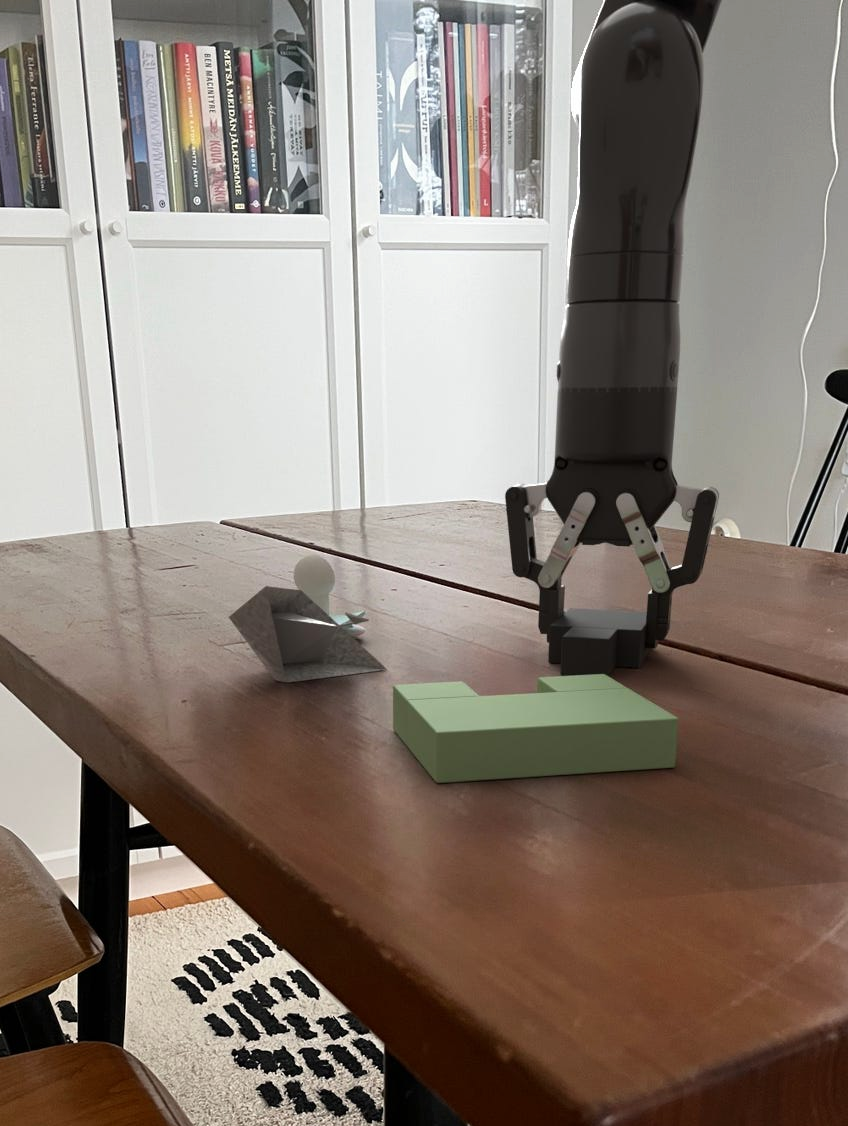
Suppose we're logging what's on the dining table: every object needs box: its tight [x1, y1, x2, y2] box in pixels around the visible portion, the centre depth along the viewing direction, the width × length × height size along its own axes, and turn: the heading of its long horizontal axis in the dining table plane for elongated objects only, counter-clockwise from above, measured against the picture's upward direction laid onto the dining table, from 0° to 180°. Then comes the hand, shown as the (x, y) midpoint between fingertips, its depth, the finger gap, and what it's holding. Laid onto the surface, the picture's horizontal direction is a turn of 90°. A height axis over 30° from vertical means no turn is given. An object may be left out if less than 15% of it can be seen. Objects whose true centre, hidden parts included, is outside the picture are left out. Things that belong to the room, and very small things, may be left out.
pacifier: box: [293, 554, 366, 638], centre depth 91 cm, size 7×6×6 cm
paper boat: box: [228, 585, 388, 684], centre depth 79 cm, size 12×6×9 cm
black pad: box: [547, 607, 652, 677], centre depth 84 cm, size 6×10×2 cm, turn 161°
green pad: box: [392, 674, 680, 784], centre depth 65 cm, size 12×10×2 cm
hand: (602, 643), depth 86 cm, fingers closed on black pad, 6 cm apart
